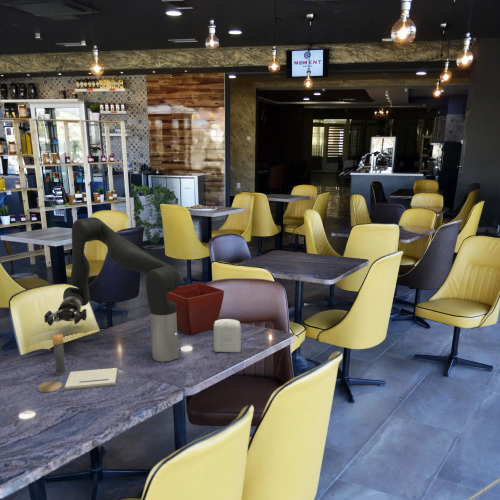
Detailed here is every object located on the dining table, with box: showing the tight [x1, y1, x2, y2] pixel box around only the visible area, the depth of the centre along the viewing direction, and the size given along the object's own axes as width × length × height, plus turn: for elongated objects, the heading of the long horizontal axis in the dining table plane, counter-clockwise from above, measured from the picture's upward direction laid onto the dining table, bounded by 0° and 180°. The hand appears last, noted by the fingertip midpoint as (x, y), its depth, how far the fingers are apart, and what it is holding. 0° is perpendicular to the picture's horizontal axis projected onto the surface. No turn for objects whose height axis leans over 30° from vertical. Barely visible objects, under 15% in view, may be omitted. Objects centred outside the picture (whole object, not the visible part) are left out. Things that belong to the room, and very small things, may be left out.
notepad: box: [63, 367, 120, 391], centre depth 161 cm, size 16×12×1 cm
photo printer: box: [213, 318, 242, 353], centre depth 184 cm, size 10×4×12 cm, turn 86°
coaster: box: [37, 380, 63, 394], centre depth 156 cm, size 7×7×1 cm
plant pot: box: [167, 282, 225, 335], centre depth 208 cm, size 19×19×17 cm
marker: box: [52, 333, 66, 376], centre depth 165 cm, size 3×3×14 cm
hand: (62, 322), depth 174 cm, fingers open, 8 cm apart
